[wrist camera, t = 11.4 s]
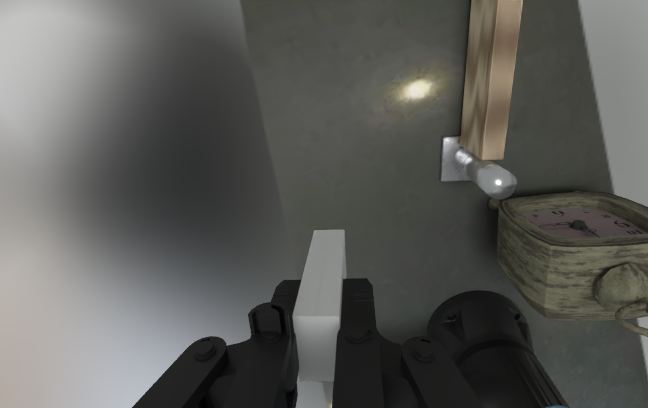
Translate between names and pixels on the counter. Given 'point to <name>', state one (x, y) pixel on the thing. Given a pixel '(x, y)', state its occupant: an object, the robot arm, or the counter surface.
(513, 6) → the gate
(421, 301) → the counter surface
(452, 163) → the hinge post
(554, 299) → the tabletop clock
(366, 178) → the counter surface
